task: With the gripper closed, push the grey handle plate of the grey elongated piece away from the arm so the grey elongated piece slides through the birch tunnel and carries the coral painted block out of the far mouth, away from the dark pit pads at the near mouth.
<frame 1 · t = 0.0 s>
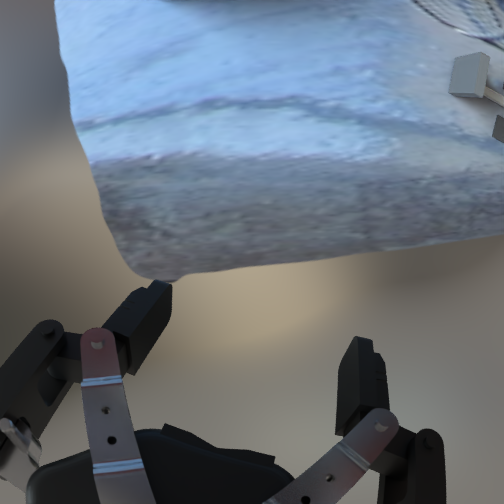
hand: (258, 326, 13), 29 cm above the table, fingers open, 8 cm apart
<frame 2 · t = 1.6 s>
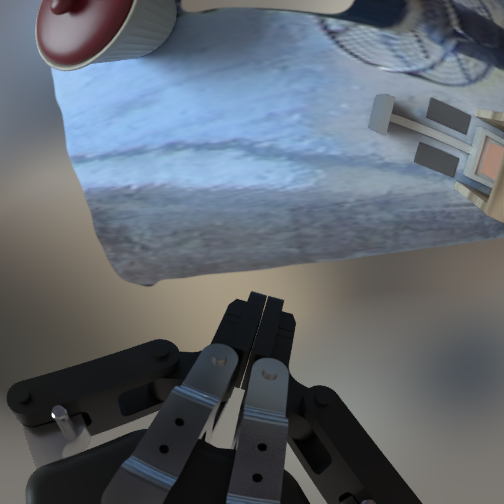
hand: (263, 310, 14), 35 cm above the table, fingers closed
pit pad b: (436, 159, 40), on the table
coral block: (496, 163, 36), point 1 cm above the table, touching grey elongated piece
tunnel: (492, 161, 37), on the table
canister: (145, 22, 39), on the table
grey elongated piece: (462, 145, 34), point 4 cm above the table, slide at 0.0 cm, touching coral block
pit pad a: (448, 115, 36), on the table
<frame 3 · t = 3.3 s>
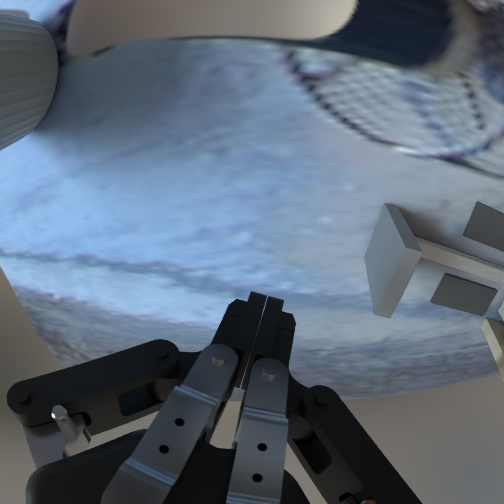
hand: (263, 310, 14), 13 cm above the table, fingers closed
pit pad b: (464, 295, 25), on the table
canister: (30, 77, 24), on the table
pit pad a: (497, 230, 21), on the table
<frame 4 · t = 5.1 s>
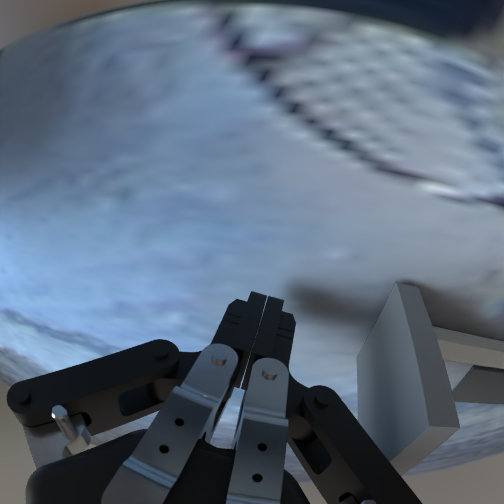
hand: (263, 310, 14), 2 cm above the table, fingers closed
pit pad b: (494, 386, 15), on the table
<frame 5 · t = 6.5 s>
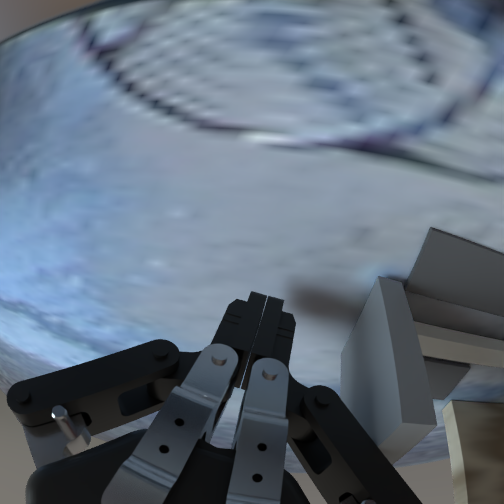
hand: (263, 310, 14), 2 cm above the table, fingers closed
pit pad b: (412, 375, 16), on the table
pit pad a: (474, 276, 12), on the table
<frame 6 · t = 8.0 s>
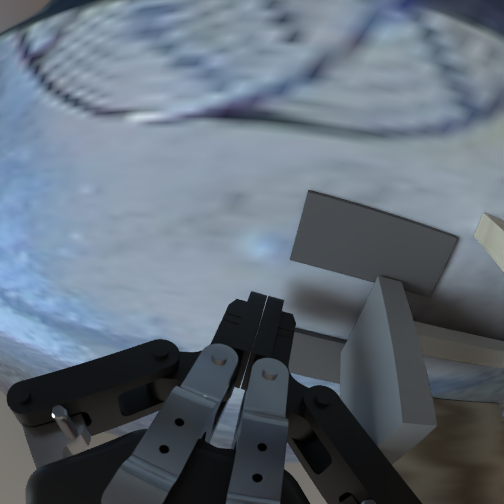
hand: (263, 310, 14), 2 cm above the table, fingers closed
pit pad b: (326, 357, 17), on the table
tunnel: (494, 342, 14), on the table
pit pad a: (375, 246, 13), on the table
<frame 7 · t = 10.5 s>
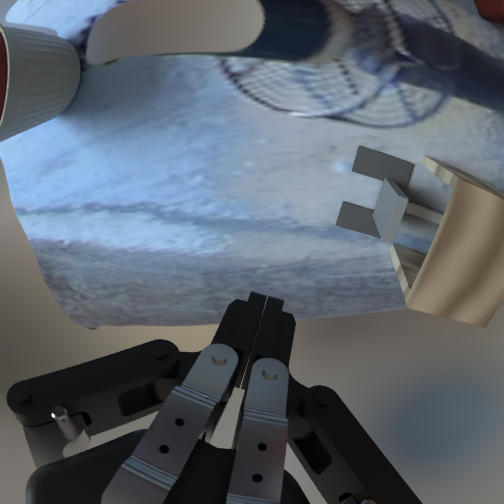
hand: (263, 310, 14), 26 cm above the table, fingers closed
pit pad b: (365, 220, 38), on the table
tunnel: (442, 217, 35), on the table
canister: (58, 77, 37), on the table
grey elongated piece: (477, 239, 31), point 4 cm above the table, slide at 12.2 cm, touching coral block
pit pad a: (382, 166, 34), on the table
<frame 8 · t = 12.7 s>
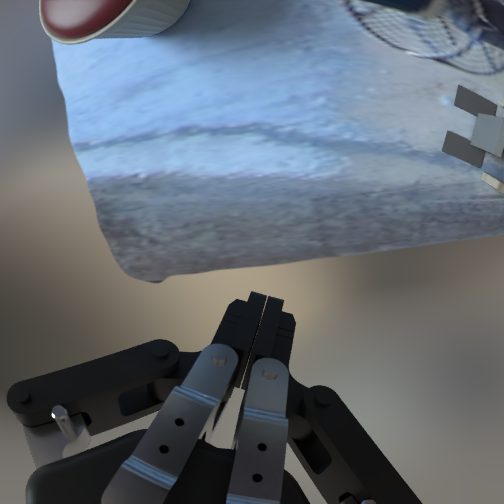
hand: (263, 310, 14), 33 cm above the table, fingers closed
pit pad b: (464, 149, 36), on the table
canister: (157, 1, 35), on the table
pit pad a: (475, 104, 32), on the table
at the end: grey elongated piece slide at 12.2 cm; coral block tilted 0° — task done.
